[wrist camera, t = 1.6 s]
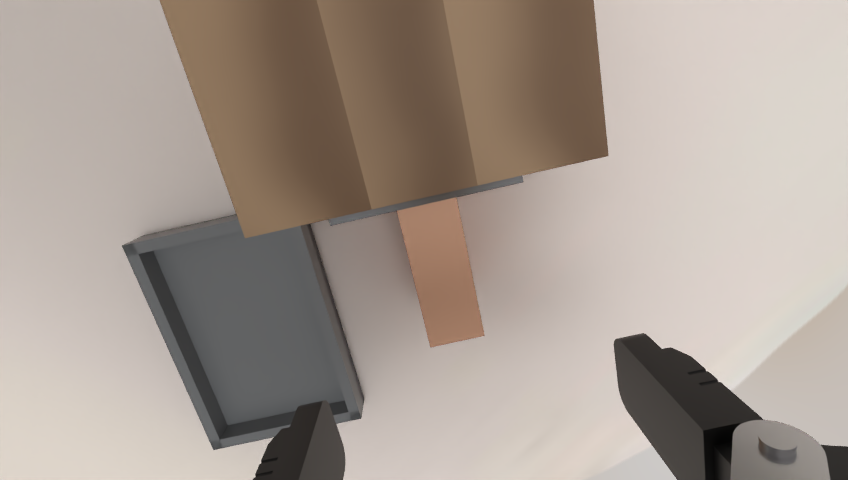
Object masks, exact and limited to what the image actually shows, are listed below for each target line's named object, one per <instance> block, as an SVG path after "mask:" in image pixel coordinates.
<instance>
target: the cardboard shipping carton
mask: <svg viewBox="0 0 848 480" xmlns="http://www.w3.org/2000/svg"><path fill="white" fill-rule="evenodd" d="M160 3H161V5H162V8H163V11H164V14H165V17H166V19H167V22H168V25H169V28H170V31H171V33H172V36H173V39H174V42H175V44H176V47H177V50H178V53H179V56H180V58H181V61H182V64H183V67H184V70H185V72H186V75H187V78H188V81H189V83H190V86H191V89H192V92H193V95H194V97H195V100H196V103H197V106H198V109H199V111H200V114H201V117H202V120H203V122H204V125H205V128H206V131H207V134H208V136H209V139H210V142H211V145H212V148H213V150H214V153H215V156H216V159H217V161H218V164H219V167H220V170H221V173H222V175H223V178H224V181H225V184H226V187H227V189H228V192H229V195H230V198H231V200H232V203H233V206H234V209H235V212H236V214H237V217H238V220H239V223H240V226H241V228H242V231H243V234H244V237H245V238H248V237H253V236H257V235H262V234H266V233H270V232H275V231H279V230H284V229H288V228H292V227H297V226H301V225H306V224H310V223H315V222H319V221H323V220H328V219H329V223H330V226H332V225H336V224H340V223H345V222H349V221H354V220H358V219H363V218H367V217H371V216H376V215H380V214H385V213H389V212H394V211H398V210H402V209H407V208H411V207H416V206H420V205H424V204H429V203H433V202H438V201H442V200H447V199H451V198H455V197H460V196H464V195H469V194H473V193H477V192H482V191H486V190H491V189H495V188H500V187H504V186H508V185H513V184H517V183H522V182H523V177H522V175H526V174H531V173H535V172H539V171H544V170H548V169H553V168H557V167H562V166H566V165H570V164H575V163H579V162H584V161H588V160H592V159H597V158H601V157H606V156H608V146H607V136H606V126H605V115H604V105H603V95H602V84H601V74H600V63H599V53H598V43H597V32H596V22H595V11H594V1H593V0H160Z"/></svg>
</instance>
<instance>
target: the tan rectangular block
mask: <svg viewBox="0 0 848 480" xmlns="http://www.w3.org/2000/svg"><path fill="white" fill-rule="evenodd" d="M397 214H398V218H399V222H400V226H401V230H402V234H403V238H404V242H405V246H406V250H407V254H408V258H409V262H410V266H411V270H412V274H413V278H414V282H415V287H416V291H417V295H418V299H419V303H420V307H421V311H422V315H423V319H424V323H425V327H426V331H427V335H428V339H429V343H430V347H435V346H439V345H444V344H448V343H453V342H458V341H462V340H467V339H471V338H476V337H481V336H484V331H483V326H482V321H481V316H480V311H479V306H478V301H477V296H476V291H475V286H474V282H473V277H472V272H471V267H470V262H469V257H468V252H467V247H466V242H465V237H464V232H463V227H462V223H461V218H460V213H459V208H458V203H457V198H456V197H455V198H451V199H447V200H442V201H438V202H433V203H429V204H424V205H420V206H416V207H411V208H407V209H402V210H398V211H397Z"/></svg>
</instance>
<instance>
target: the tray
mask: <svg viewBox="0 0 848 480" xmlns="http://www.w3.org/2000/svg"><path fill="white" fill-rule="evenodd" d="M122 247H123V249H124V251H125V254H126V256H127V258H128V260H129V262H130V265H131V267H132V269H133V271H134V274H135V276H136V278H137V280H138V283H139V285H140V287H141V289H142V291H143V294H144V296H145V298H146V300H147V303H148V305H149V307H150V309H151V312H152V314H153V316H154V318H155V320H156V323H157V325H158V327H159V329H160V332H161V334H162V336H163V338H164V341H165V343H166V345H167V347H168V349H169V352H170V354H171V356H172V358H173V361H174V363H175V365H176V367H177V370H178V372H179V374H180V376H181V378H182V381H183V383H184V385H185V387H186V390H187V392H188V394H189V396H190V399H191V401H192V403H193V405H194V407H195V410H196V412H197V414H198V416H199V419H200V421H201V423H202V425H203V428H204V430H205V432H206V434H207V436H208V439H209V441H210V443H211V445H212V448H213V450H215V449H220V448H225V447H230V446H234V445H239V444H244V443H248V442H253V441H258V440H262V439H267V438H272V437H275V436H276V435H277V434H278V432H279V431H280V430H281V429H283V428H288V427H290V425H291V423H292V420H293V417H294V415H295V412H296V410H297V408H298V406H300V405H305V404H310V403H314V402H319V401H324V400H326V401H327V402H328V403H329V405H330V408H331V411H332V414H333V417H334V420H335V423H336V424H337V423H342V422H347V421H351V420H356V419H361V417H362V410H363V404H364V397H363V393H362V390H361V387H360V384H359V380H358V377H357V374H356V371H355V367H354V364H353V361H352V358H351V355H350V351H349V348H348V345H347V342H346V338H345V335H344V332H343V329H342V325H341V322H340V319H339V316H338V313H337V309H336V306H335V303H334V300H333V296H332V293H331V290H330V287H329V284H328V280H327V277H326V274H325V271H324V267H323V264H322V261H321V258H320V254H319V251H318V248H317V245H316V242H315V238H314V235H313V232H312V229H311V225H310V224H306V225H301V226H297V227H292V228H288V229H284V230H279V231H275V232H270V233H266V234H262V235H257V236H253V237H248V238H245V237H244V234H243V231H242V228H241V226H240V223H239V220H238V217H237V214H236V215H232V216H228V217H223V218H219V219H215V220H210V221H206V222H201V223H197V224H193V225H188V226H184V227H179V228H175V229H171V230H166V231H162V232H158V233H153V234H149V235H144V236H141V237H139V238H137V239H135V240H133V241H131V242H129V243H127V244H125V245H122Z"/></svg>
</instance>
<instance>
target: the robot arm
mask: <svg viewBox="0 0 848 480" xmlns="http://www.w3.org/2000/svg"><path fill="white" fill-rule="evenodd" d="M614 352H615V361H616V370H617V379H618V387H619V392H620V396H621V399H622V401H623V404H624V406H625V408H626V410H627V411H628V413H629V414H630V415H631V417H632V418H633V420H634V421H635V422H636V424H637V425H638V426H639V428H640V429H641V431H642V432H643V433H644V435H645V436H646V437H647V439H648V440H649V442H650V443H651V444H652V446H653V447H654V448H655V450H656V451H657V453H658V454H659V455H660V457H661V458H662V459H663V461H664V462H665V464H666V465H667V466H668V468H669V469H670V470H671V472H672V473H673V475H674V476H675V477H676V479H677V480H848V447H845V446H844V447H843V446H828V445H820V444H819V443H818V442H817V441H816V440H815V439H814V438H813V437H811V436H810V435H808V434H807V433H805V432H803V431H801V430H800V429H797V428H795V427H793V426H790V425H787V424H784V423H780V422H776V421H769V420H763V419H762V418H761V417H760V416H759V415H758V414H757V413H755V412H754V411H753V410H752V409H751V408H750V407H749V406H747V405H746V404H745V403H744V402H743V401H742V400H740V399H739V398H738V397H737V396H736V395H735V394H733V393H732V392H731V391H730V390H729V389H728V388H727V387H726V386H724V385H723V384H722V383H721V382H718V380H717V379H716V378H715V377H714V376H713V375H712V374H711V373H709V372H706V370H705V368H704V367H702V366H701V365H700V364H699V363H698V362H697V361H696V360H694V359H693V358H692V357H691V356H689V355H687V354H684V353H682V352H680V351H678V350H675V349H673V348H671V347H670V348H665V349H661V348H660V347H659V346H658V345H657V344H656V343H655V342H654V341H653V340H652V339H651V338H650V337H649V336H647V335H646V334H644V333H642V334H637V335H633V336H628V337H623V338H619V339H615V341H614ZM261 462H262V463H261V464H260V465H259V467H258V469H257V472H256V474H255V475H256V477H255V478H254V479H253V480H343V476H344V471H345V452H344V447H343V443H342V440H341V437H340V434H339V431H338V428H337V425H336V423H335V420H334V417H333V414H332V411H331V408H330V405H329V403H328V402H327V401H326V400H324V401H319V402H314V403H310V404H305V405H300V406H298V408H297V410H296V412H295V415H294V417H293V420H292V423H291V425H290V427H288V428H283V429H281V430H280V431H279V432H278V434H277V435H276V436H275V437H274V438H273V439H272V441H271V442H270V443H269V444H268V446H267V448H266V451H265V453H264V455H263V458H262V460H261Z"/></svg>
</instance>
